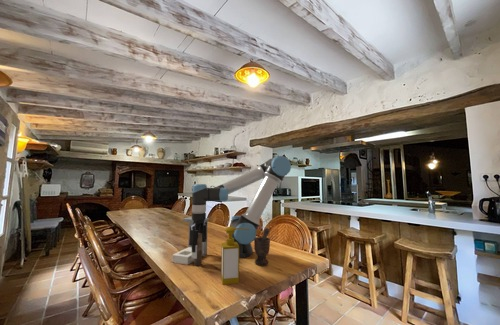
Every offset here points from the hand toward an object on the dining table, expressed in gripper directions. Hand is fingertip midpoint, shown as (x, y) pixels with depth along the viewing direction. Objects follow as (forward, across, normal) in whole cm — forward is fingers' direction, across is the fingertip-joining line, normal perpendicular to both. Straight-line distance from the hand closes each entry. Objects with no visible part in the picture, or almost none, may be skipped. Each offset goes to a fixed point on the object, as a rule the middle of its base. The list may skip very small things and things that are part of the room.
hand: (197, 256), depth 115 cm
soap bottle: (+5, +9, +26) cm, 28 cm away
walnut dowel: (+4, 0, 0) cm, 4 cm away
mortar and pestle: (+4, -12, +33) cm, 35 cm away
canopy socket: (+4, -7, -10) cm, 13 cm away
